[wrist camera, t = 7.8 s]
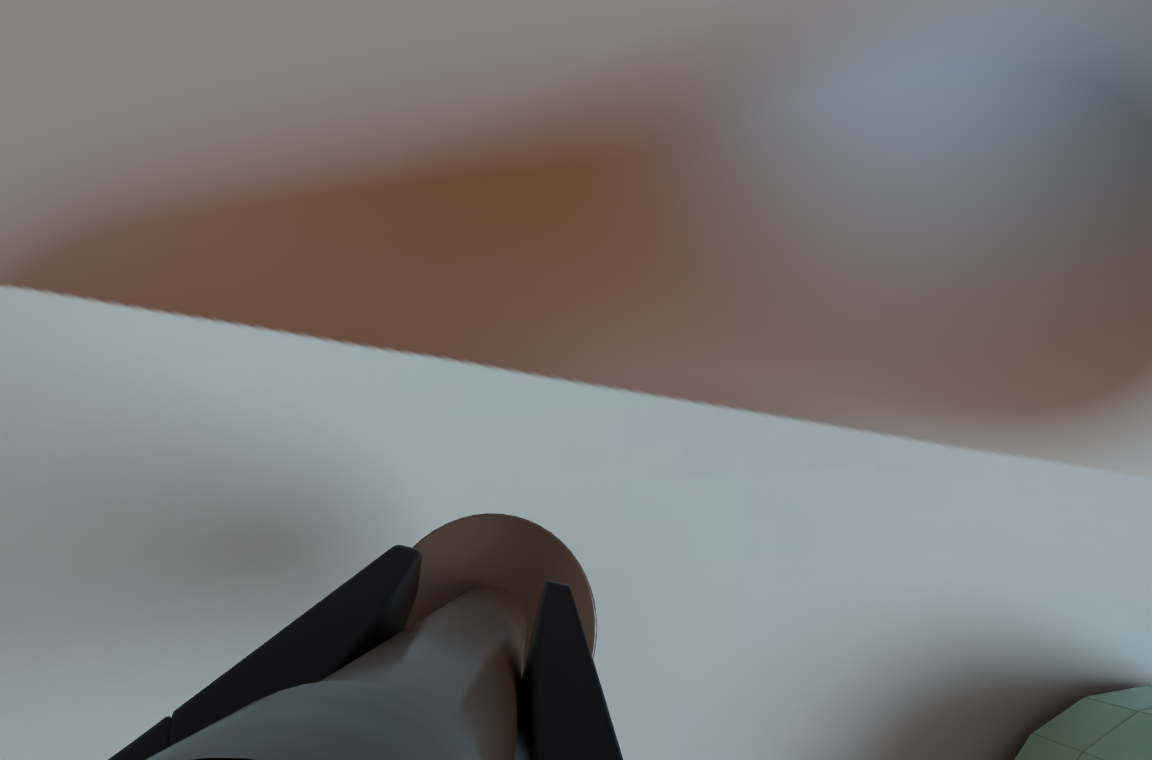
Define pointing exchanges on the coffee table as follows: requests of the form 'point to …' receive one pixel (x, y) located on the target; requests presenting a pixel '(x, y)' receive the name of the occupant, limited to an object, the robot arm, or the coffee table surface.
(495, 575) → the paper towel holder
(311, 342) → the coffee table surface
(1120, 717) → the green round dish
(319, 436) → the coffee table surface
